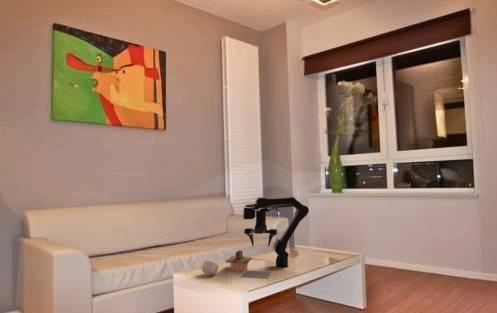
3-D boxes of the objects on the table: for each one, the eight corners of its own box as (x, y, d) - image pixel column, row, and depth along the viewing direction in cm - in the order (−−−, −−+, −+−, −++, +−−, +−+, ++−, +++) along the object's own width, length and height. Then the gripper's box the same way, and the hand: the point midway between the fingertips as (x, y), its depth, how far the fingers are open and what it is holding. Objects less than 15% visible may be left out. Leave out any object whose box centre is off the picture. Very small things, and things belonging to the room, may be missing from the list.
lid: (251, 259, 211) (251, 250, 211) (247, 263, 199) (247, 254, 200) (231, 257, 214) (231, 249, 214) (225, 262, 202) (225, 253, 202)
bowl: (249, 268, 210) (249, 259, 210) (245, 272, 200) (245, 263, 201) (232, 267, 212) (233, 258, 212) (228, 271, 203) (228, 262, 203)
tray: (271, 273, 199) (271, 272, 199) (267, 280, 185) (267, 278, 186) (246, 271, 202) (246, 270, 202) (240, 278, 189) (240, 277, 189)
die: (216, 273, 200) (205, 259, 201) (224, 268, 194) (213, 253, 195) (206, 282, 193) (195, 267, 194) (214, 277, 188) (203, 261, 189)
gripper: (242, 220, 207) (241, 248, 206) (274, 221, 203) (274, 249, 202) (246, 218, 218) (246, 244, 217) (277, 219, 214) (277, 246, 213)
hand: (260, 246), depth 212 cm, fingers open, 9 cm apart
